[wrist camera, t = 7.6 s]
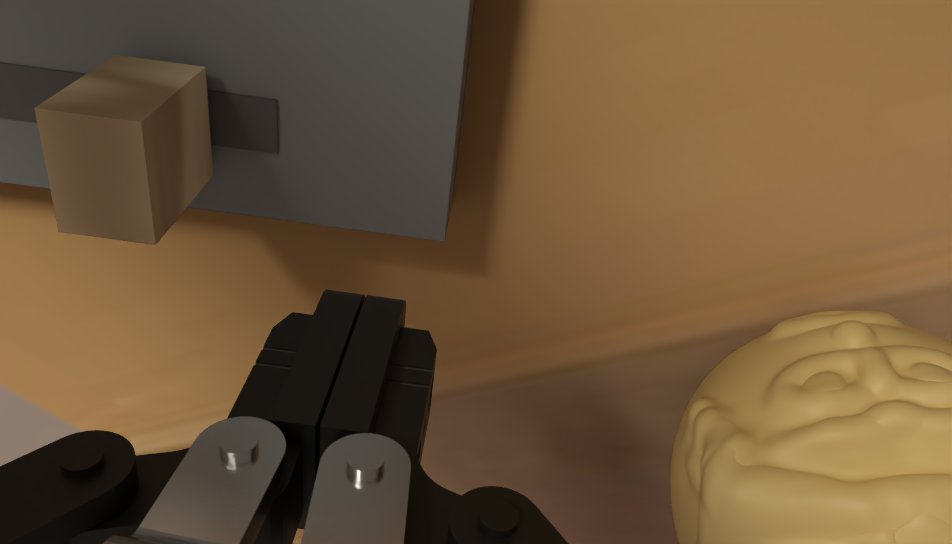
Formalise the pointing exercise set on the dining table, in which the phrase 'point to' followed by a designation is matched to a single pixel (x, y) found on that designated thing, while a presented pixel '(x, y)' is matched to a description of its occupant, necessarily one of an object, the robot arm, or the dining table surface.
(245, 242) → the dining table surface
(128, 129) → the slide paddle
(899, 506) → the sculpture
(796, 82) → the dining table surface
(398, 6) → the control panel
